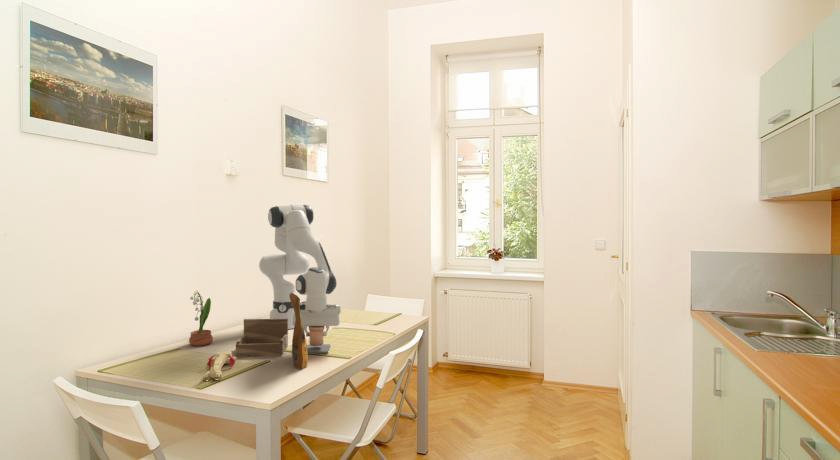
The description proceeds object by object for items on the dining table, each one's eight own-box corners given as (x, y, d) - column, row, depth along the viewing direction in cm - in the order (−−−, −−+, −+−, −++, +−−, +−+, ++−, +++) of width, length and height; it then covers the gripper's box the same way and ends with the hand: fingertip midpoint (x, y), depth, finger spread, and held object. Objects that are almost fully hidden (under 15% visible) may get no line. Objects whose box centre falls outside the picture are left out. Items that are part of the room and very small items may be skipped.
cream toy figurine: (226, 384, 167) (239, 358, 191) (226, 360, 166) (239, 337, 191) (196, 385, 165) (213, 359, 189) (196, 361, 164) (213, 338, 189)
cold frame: (244, 347, 210) (244, 319, 210) (287, 346, 212) (288, 318, 212) (235, 356, 196) (235, 326, 196) (282, 355, 198) (282, 325, 198)
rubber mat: (305, 346, 212) (305, 344, 212) (330, 346, 213) (330, 344, 213) (301, 354, 200) (301, 352, 200) (328, 353, 201) (328, 351, 201)
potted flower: (201, 348, 208) (201, 292, 207) (181, 347, 209) (181, 291, 209) (217, 342, 219) (217, 288, 219) (198, 340, 221) (198, 288, 221)
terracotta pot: (309, 342, 209) (309, 324, 209) (324, 342, 210) (325, 324, 210) (307, 346, 203) (307, 328, 203) (323, 346, 203) (323, 327, 203)
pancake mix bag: (290, 371, 177) (290, 297, 177) (289, 357, 195) (289, 290, 195) (308, 370, 179) (309, 296, 179) (305, 356, 197) (305, 289, 197)
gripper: (340, 303, 211) (340, 333, 211) (294, 303, 208) (294, 334, 208) (340, 305, 204) (339, 337, 204) (292, 306, 202) (291, 338, 202)
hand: (316, 336), depth 206 cm, fingers closed on terracotta pot, 6 cm apart
